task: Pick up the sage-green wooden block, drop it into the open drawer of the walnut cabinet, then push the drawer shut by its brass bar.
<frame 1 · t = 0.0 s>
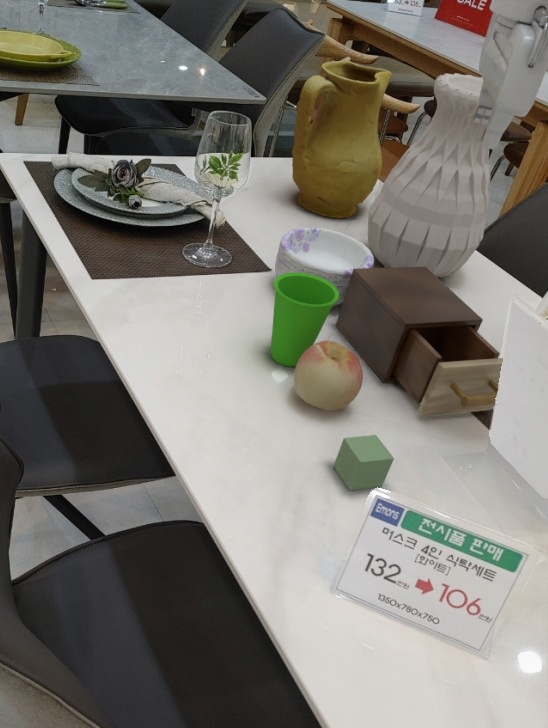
hand: (483, 134, 93), 32 cm above the table, tool pointing down, fingers open, 8 cm apart
block: (357, 476, 94), on the table
cabinet: (394, 350, 117), on the table
drawer: (448, 368, 105), point 5 cm above the table, slide at 8.0 cm
vase: (409, 267, 139), on the table
paper bowls: (314, 293, 127), on the table
pitcher: (321, 204, 156), on the table
apple: (319, 403, 104), on the table
cup: (287, 358, 111), on the table
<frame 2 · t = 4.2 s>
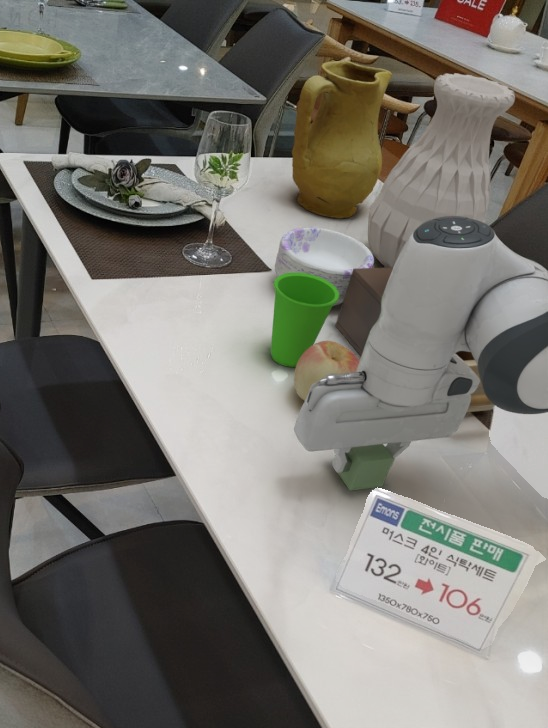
hand: (361, 466, 92), 2 cm above the table, tool pointing down, fingers closed on block, 4 cm apart
block: (357, 476, 94), on the table, touching gripper
everything else where it was.
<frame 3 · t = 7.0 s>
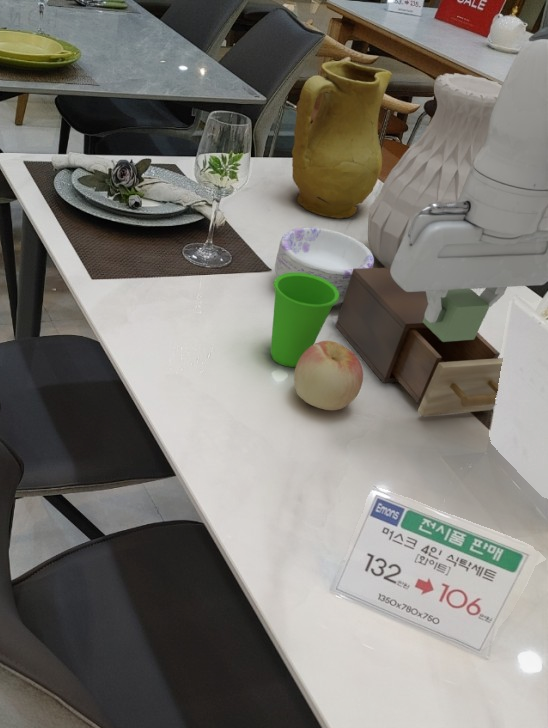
hand: (453, 318, 90), 17 cm above the table, tool pointing down, fingers closed on block, 4 cm apart
block: (448, 330, 91), point 15 cm above the table, touching gripper
everything else where it was.
when the fingers open (9 cm above the table, at t = 10.0 s): block drops 5 cm, resting on drawer.
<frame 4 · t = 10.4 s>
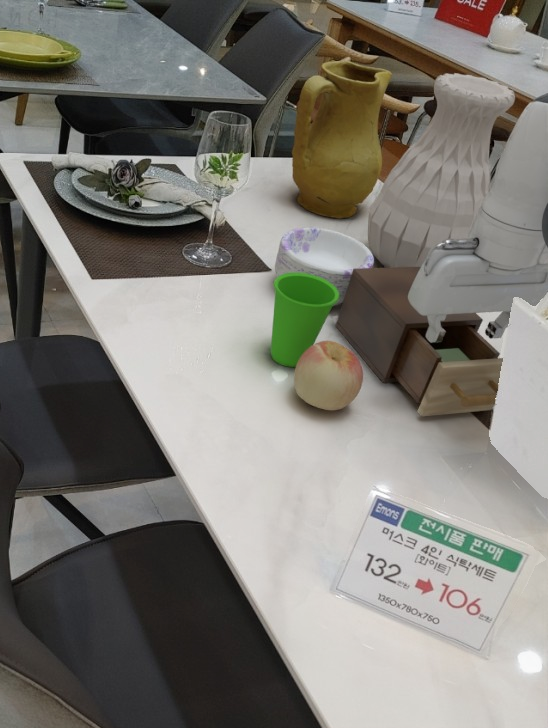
hand: (462, 338, 102), 10 cm above the table, tool pointing down, fingers open, 8 cm apart
block: (441, 385, 107), point 2 cm above the table, touching drawer
drawer: (448, 368, 105), point 5 cm above the table, slide at 8.0 cm, touching block
everything else where it was.
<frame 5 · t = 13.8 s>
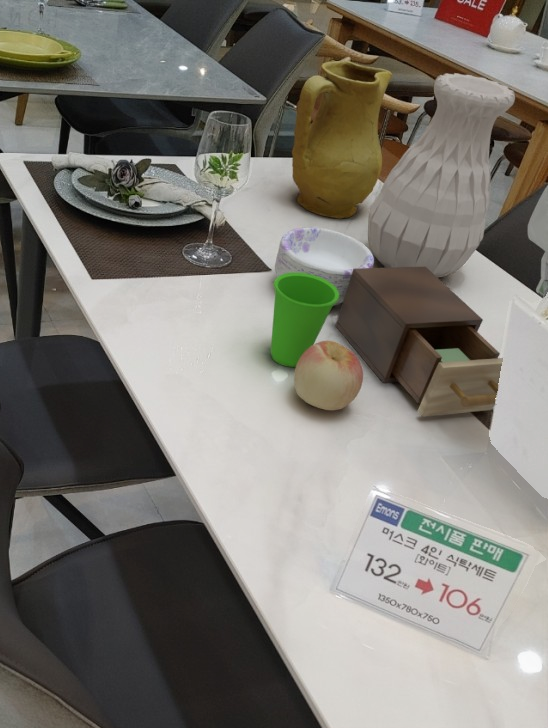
nothing on the table moved.
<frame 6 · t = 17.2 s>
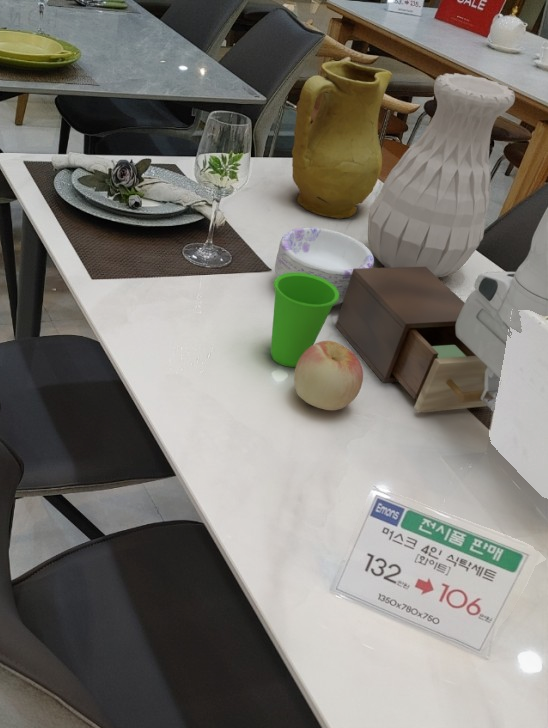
hand: (491, 405, 98), 6 cm above the table, tool pointing down, fingers closed
drawer: (444, 364, 106), point 5 cm above the table, slide at 7.1 cm, touching block, gripper
everything else where it was.
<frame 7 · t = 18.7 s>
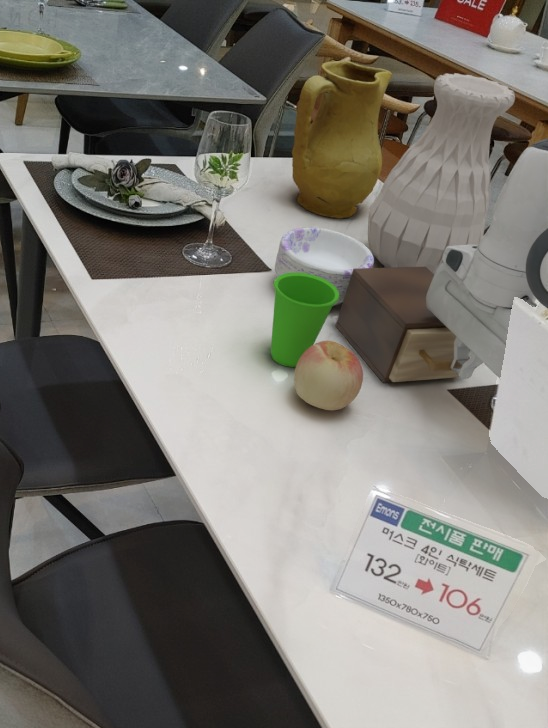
hand: (459, 373, 103), 6 cm above the table, tool pointing down, fingers closed
block: (412, 353, 113), point 2 cm above the table, touching drawer
drawer: (418, 336, 111), point 5 cm above the table, slide at 0.0 cm, touching block, cabinet, gripper
everything else where it was.
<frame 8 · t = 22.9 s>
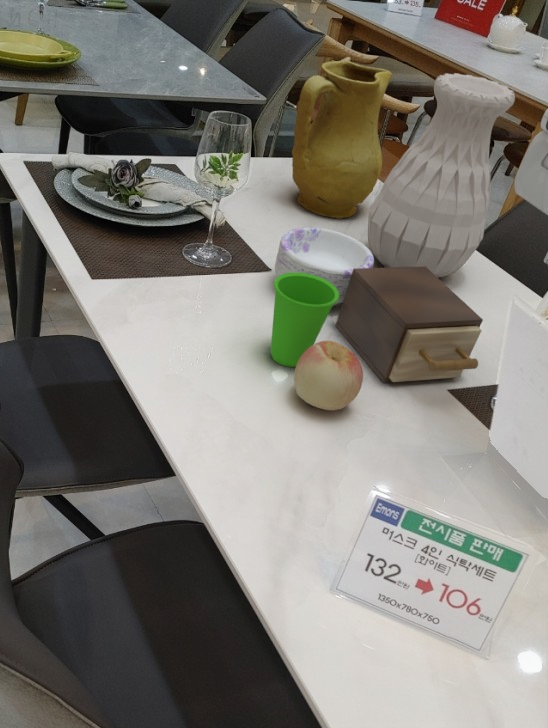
drawer: (418, 336, 111), point 5 cm above the table, slide at 0.0 cm, touching block
everything else where it was.
at the end: block inside the target area in the cabinet (3.9 cm from its centre), point 2.0 cm above the cabinet's base; drawer slide at 0.0 cm; the gripper is holding nothing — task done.
